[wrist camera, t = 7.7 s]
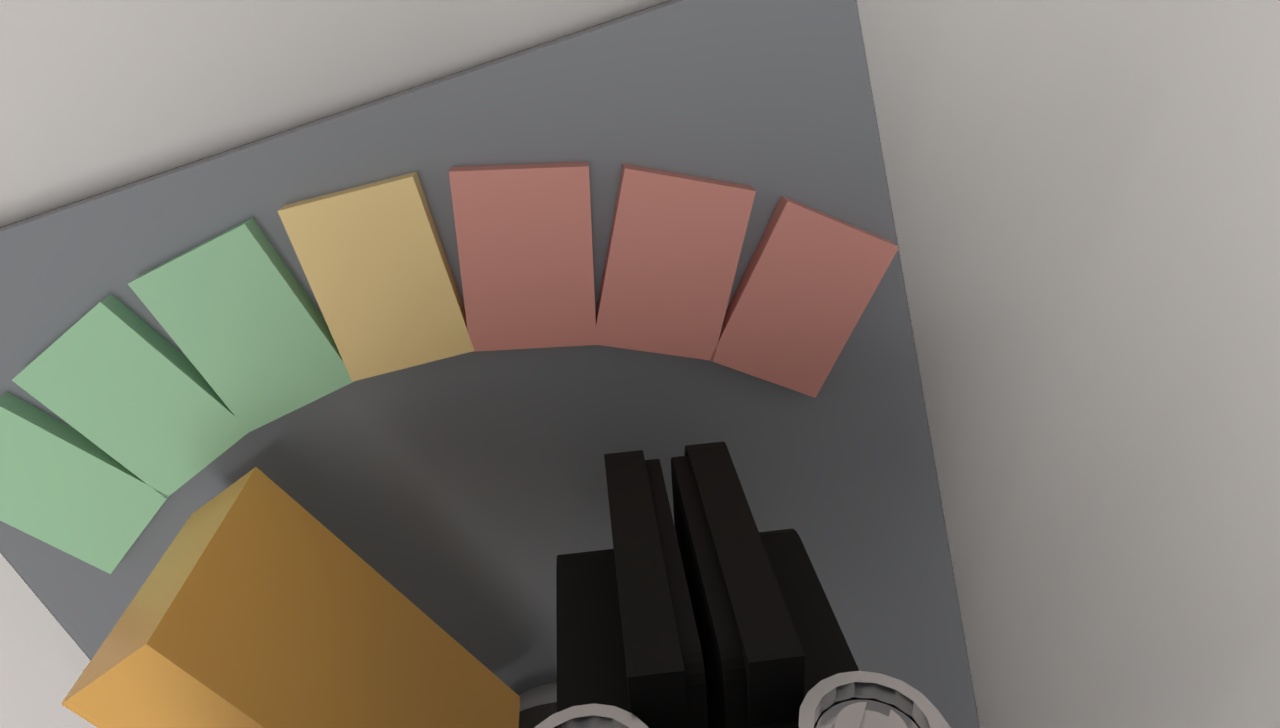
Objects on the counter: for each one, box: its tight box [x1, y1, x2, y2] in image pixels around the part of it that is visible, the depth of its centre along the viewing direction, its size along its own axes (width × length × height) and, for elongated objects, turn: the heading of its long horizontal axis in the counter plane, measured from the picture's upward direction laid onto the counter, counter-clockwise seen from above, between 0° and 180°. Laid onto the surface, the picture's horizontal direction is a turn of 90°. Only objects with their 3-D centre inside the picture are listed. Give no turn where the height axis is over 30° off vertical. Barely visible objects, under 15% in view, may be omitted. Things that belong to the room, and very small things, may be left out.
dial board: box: [0, 0, 980, 728], centre depth 14 cm, size 20×14×1 cm
